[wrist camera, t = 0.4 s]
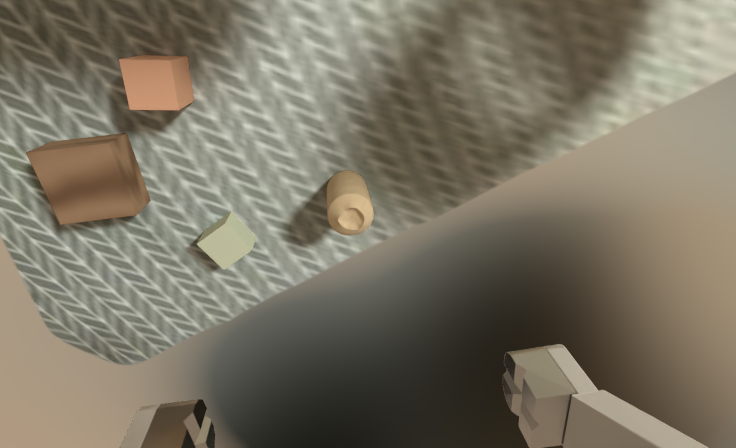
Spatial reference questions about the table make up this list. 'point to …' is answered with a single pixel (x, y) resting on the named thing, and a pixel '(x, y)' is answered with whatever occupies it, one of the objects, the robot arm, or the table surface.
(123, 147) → the walnut block
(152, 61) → the terracotta block
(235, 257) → the sage block
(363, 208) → the candle
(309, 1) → the table surface
